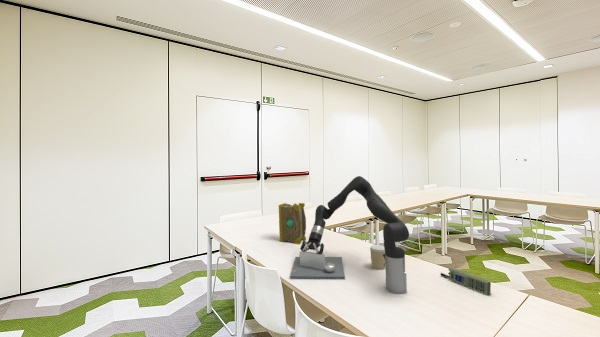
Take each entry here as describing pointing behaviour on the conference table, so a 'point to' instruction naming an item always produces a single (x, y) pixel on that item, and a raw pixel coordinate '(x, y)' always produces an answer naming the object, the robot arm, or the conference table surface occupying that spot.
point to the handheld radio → (469, 281)
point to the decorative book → (292, 222)
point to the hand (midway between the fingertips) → (308, 258)
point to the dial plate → (318, 270)
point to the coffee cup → (377, 257)
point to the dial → (315, 261)
